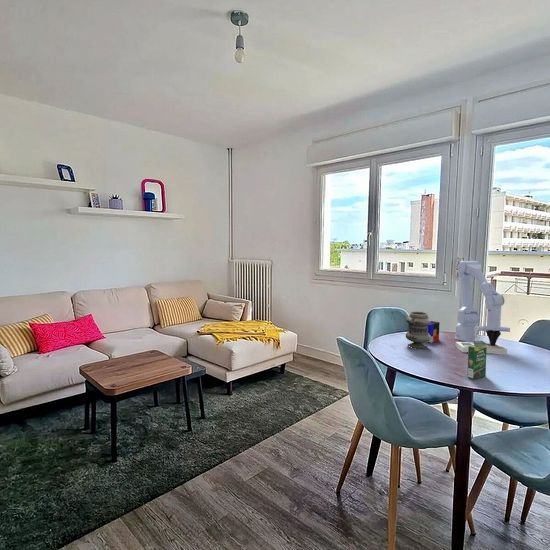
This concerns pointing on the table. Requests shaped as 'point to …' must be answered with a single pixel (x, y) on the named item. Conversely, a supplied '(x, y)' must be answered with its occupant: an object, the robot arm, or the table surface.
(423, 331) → the stone vase
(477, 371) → the coffee box
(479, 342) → the middle button
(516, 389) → the table surface
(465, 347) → the button board
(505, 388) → the table surface
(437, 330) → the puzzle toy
